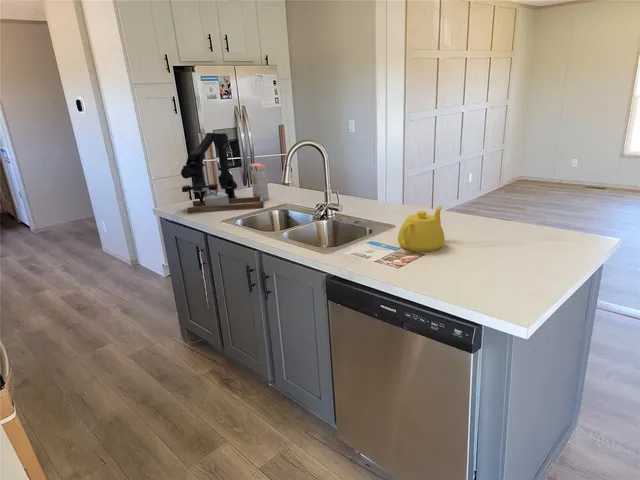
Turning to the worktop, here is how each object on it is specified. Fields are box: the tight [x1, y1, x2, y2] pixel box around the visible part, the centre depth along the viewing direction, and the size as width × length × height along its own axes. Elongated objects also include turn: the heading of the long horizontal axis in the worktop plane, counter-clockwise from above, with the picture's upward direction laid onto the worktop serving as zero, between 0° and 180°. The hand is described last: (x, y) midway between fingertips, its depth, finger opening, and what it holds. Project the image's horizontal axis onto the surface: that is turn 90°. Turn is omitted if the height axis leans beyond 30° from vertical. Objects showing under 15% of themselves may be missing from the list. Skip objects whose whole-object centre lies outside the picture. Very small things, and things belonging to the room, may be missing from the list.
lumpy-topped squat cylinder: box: [204, 191, 230, 206], centre depth 244 cm, size 10×13×9 cm
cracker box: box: [249, 162, 270, 202], centre depth 259 cm, size 14×6×21 cm, turn 25°
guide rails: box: [187, 195, 265, 214], centre depth 245 cm, size 17×41×4 cm, turn 96°
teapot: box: [397, 205, 446, 253], centre depth 167 cm, size 25×18×14 cm
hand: (201, 202), depth 243 cm, fingers closed
